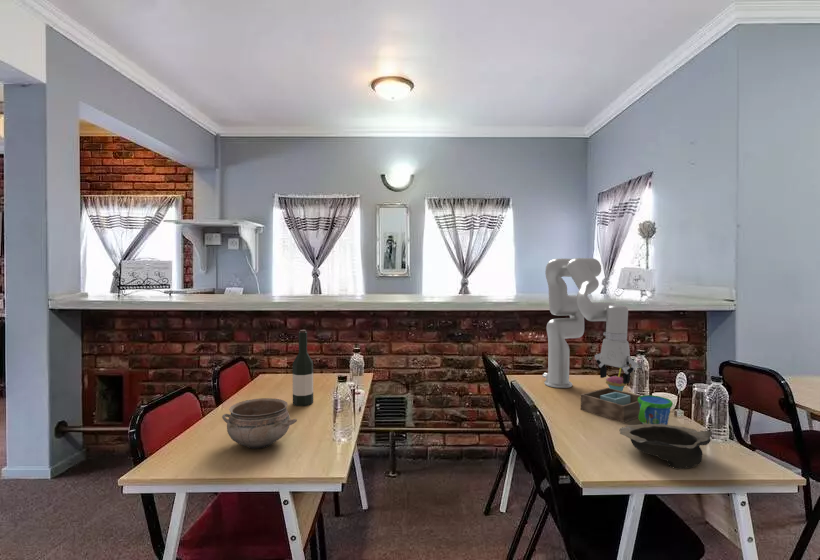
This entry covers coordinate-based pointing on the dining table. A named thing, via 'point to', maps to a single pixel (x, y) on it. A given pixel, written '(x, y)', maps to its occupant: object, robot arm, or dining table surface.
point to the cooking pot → (258, 422)
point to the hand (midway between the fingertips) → (614, 380)
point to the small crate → (616, 398)
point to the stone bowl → (669, 442)
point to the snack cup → (654, 409)
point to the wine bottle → (302, 374)
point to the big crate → (610, 405)
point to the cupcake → (616, 382)
